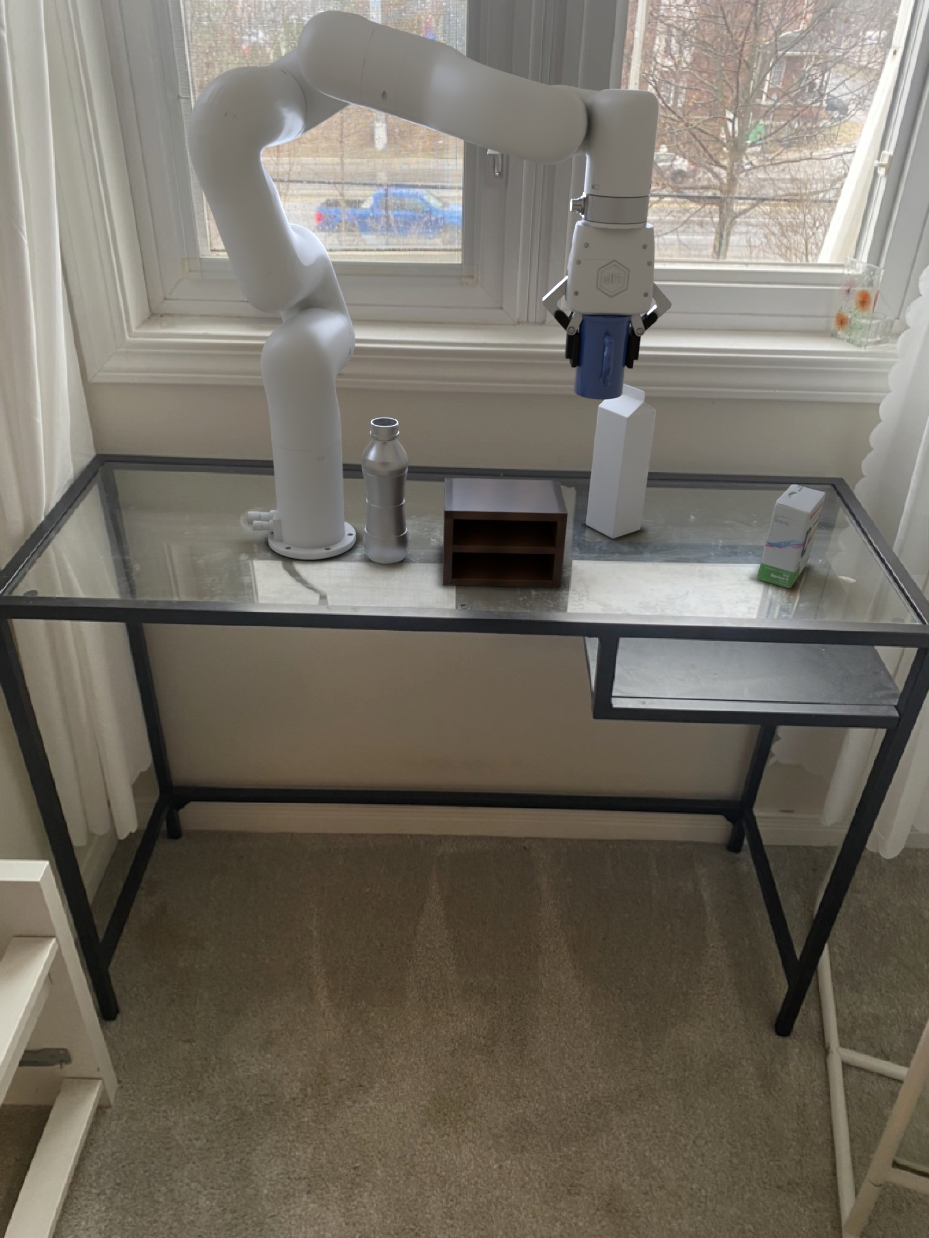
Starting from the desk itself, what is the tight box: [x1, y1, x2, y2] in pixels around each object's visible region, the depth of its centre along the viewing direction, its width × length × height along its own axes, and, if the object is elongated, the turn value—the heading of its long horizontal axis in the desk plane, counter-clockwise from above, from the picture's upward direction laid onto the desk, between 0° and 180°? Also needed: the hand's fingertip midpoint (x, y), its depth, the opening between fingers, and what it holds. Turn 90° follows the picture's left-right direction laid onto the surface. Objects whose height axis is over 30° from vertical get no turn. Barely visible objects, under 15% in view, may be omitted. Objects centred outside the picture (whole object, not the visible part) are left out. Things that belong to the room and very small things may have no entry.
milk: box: [585, 383, 658, 539], centre depth 142 cm, size 6×6×22 cm
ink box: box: [756, 483, 827, 589], centre depth 133 cm, size 9×5×12 cm, turn 148°
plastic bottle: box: [360, 417, 410, 565], centre depth 131 cm, size 6×7×20 cm
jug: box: [573, 314, 632, 401], centre depth 119 cm, size 7×10×10 cm, turn 1°
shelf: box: [442, 477, 569, 588], centre depth 132 cm, size 16×11×11 cm
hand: (600, 363), depth 120 cm, fingers closed on jug, 6 cm apart
